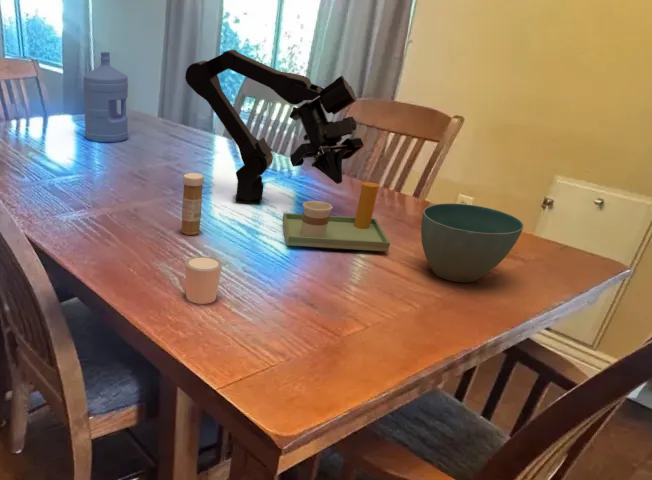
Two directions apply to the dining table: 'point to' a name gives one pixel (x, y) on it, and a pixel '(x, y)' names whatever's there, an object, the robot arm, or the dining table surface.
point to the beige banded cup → (315, 219)
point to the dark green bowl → (466, 239)
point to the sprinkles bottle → (192, 203)
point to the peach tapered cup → (202, 279)
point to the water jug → (105, 103)
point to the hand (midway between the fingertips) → (339, 182)
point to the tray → (344, 227)
